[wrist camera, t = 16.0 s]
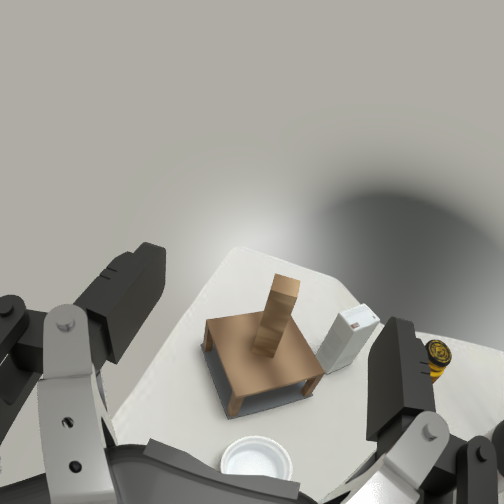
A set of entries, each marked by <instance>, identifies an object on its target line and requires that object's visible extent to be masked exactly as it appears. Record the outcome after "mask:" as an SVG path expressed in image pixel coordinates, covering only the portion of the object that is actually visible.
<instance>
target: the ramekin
mask: <svg viewBox="0 0 504 504" xmlns="http://www.w3.org/2000/svg"><path fill="white" fill-rule="evenodd" d="M220 469H221V473H223V474H235V475H265V476H269V477H274V478H278V479H283V480H288V481H290V479H291V477H292V462H291V459H290V456H289V455H288V453H287V451H286V450H285V449H284V448H283V447H282V446H281V445H280V444H279V443H277V442H276V441H274V440H272V439H270V438H267V437H263V436H247V437H243V438H240V439H238V440H236V441H234V442H233V443H232V444H230V445H229V446H228V447H227V449H226V450H225V451H224V453H223V455H222V458H221V463H220Z"/></svg>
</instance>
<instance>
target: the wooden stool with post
mask: <svg viewBox="0 0 504 504" xmlns="http://www.w3.org/2000/svg"><path fill="white" fill-rule="evenodd" d="M299 286H300V281H299V280H296V279H292V278H289V277H286V276H282V275H279V274H275V276H274V280H273V283H272V286H271V290H270V293H269V296H268V300H267V303H266V306H265V309H264V311H261V312H255V313H248V314H242V315H235V316H228V317H222V318H215V319H208V320H206V326H205V334H204V341H203V348H204V351H205V352H207V351H212V348H213V343H214V345H215V348H216V350H217V353H218V356H219V358H220V361H221V363H222V366H223V368H224V371H225V373H226V376H227V379H228V381H229V383H230V386H231V388H232V391H233V392H232V395H231V398H230V402H229V405H228V408H227V412H228V415H229V417H234V416H238V413H239V410H240V408H241V405H242V402H243V400H244V397H246V396H250V395H254V394H258V393H262V392H266V391H270V390H274V389H277V388H281V387H285V386H288V385H292V384H295V383H299V382H302V381H305V380H307V381H306V383H305V385H304V386H303V388H302V390H301V393H302V394H303V396H304V397H306V396H309V395H311V393H312V392H313V390H314V389H315V387H316V386H317V384H318V383H319V381H320V380H321V378H322V377H323V375H324V374H325V371H324V370H323V368H322V366H321V365H320V363H319V361H318V360H317V358H316V356H315V355H314V353H313V352H312V350H311V348H310V347H309V345H308V343H307V342H306V340H305V338H304V337H303V335H302V333H301V332H300V330H299V328H298V327H297V325H296V323H295V322H294V320H293V318H292V317H291V313H292V310H293V308H294V305H295V302H296V300H297V296H298V291H299Z"/></svg>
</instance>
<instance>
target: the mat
mask: <svg viewBox="0 0 504 504" xmlns="http://www.w3.org/2000/svg"><path fill="white" fill-rule="evenodd" d="M201 347H202V350H203V353H204V356H205V359H206V362H207V364H208V367H209V370H210V373H211V375H212V378H213V381H214V384H215V386H216V389H217V392H218V394H219V397H220V400H221V402H222V405H223V407H224V410H225V413H226V415H227V418H228V420H229V419H233V418H237V417H241V416H245V415H249V414H253V413H257V412H261V411H264V410H268V409H271V408H275V407H278V406H282V405H285V404H289V403H292V402H295V401H298V400H301V399H305V398H308V397H311V396H313V394H312V393H311V395H309V396H306V397H304V396H303V394H302V393H301V390H302V388H303V386H304V385H305V383H306V381H302V382H299V383H295V384H292V385H288V386H285V387H281V388H277V389H274V390H270V391H266V392H262V393H258V394H254V395H250V396H246V397H244V400H243V402H242V405H241V408H240V410H239V413H238V416H234V417H229V415H228V412H227V408H228V405H229V402H230V398H231V395H232V392H233V391H232V388H231V386H230V383H229V381H228V379H227V376H226V373H225V371H224V368H223V366H222V363H221V361H220V358H219V356H218V353H217V350H216V348H215V345H214V343H213V348H212V351H207V352H205V351H204V348H203V344H201Z"/></svg>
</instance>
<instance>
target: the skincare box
mask: <svg viewBox="0 0 504 504" xmlns="http://www.w3.org/2000/svg"><path fill="white" fill-rule="evenodd" d="M379 321H380V319H379V318H378V317H377V316H376V315H375V314H374V313H373V312H372V310H371V309H370V308H369V307H368V306H367V305H366V304H361V305H359V306H356V307H354V308H351V309H348V310H345V311H343V312H340V313H339V314H338V315H337V317H336V319H335V321H334V323H333V325H332V326H331V328H330V330H329V332H328V334H327V336H326V337H325V339H324V341H323V343H322V345H321V346H320V348H319V350H318V352H317V353H316V355H315V356H316V358H317V360H318V361H319V363H320V365H321V366H322V368H323V370H324V371H325V373H326V374H329V373H331V372H333V371H336V370H338V369H340V368H342V367H344V366H346V365H349V364H351V363H352V362H353V360H354V359H355V357H356V356H357V355H358V353H359V352H360V350H361V349H362V347H363V346H364V344H365V343H366V341H367V340H368V338H369V337H370V335H371V334H372V332H373V331H374V329H375V328H376V326H377V325H378V323H379Z"/></svg>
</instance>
